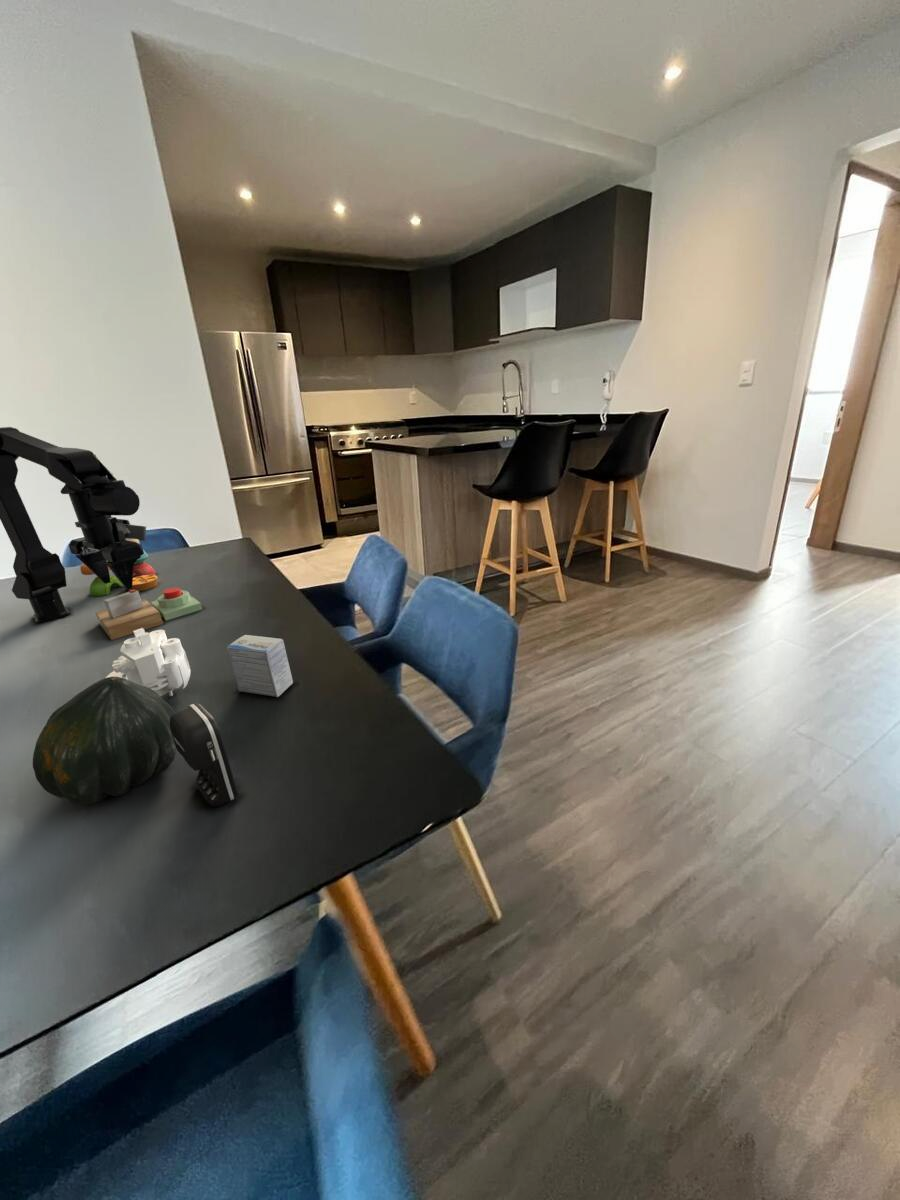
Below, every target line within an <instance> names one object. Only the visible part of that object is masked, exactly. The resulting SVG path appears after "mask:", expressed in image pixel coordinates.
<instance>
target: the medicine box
mask: <svg viewBox="0 0 900 1200" xmlns="http://www.w3.org/2000/svg"><path fill="white" fill-rule="evenodd" d="M226 649H227V653H228V657H229V660H230V664H231V667H232V671H233V675H234V678H235V683H236V686H237V690H238V692H241V693H242V692H243V693H249V694H256V695H263V696H269V697H274V698H279V697H280V696H281V695H283V693H284V692H285V691H286V690H287V689H288V688H290V687H291V686H292V685H293V684H294V680H293V676H292V672H291V668H290V664H289V659H288V655H287V651H286V646H285V642H284V640H283V638H277V637H276V638H275V637H268V636H259V635H249V634H244V635H242V636H240V637H239V638H237V639H236V640H234V641H233V642H231V643H230V644H229V645H227V647H226Z"/></svg>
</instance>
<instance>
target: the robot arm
mask: <svg viewBox="0 0 900 1200" xmlns="http://www.w3.org/2000/svg"><path fill="white" fill-rule="evenodd" d="M19 458H21V459H24V460H26V461H29V462H31V463H34V464H36V465H38V466H41V467H44V468H46V469H47V472H48V474H49V475H50V476H52V477H53V478H55V479H56V480H58V481H60V482H61V483H63V484H64V486H63V487H62V488H60V494H61V495H68V497H69V499H70V502H71V505H72V508H73V510H74V513H75V516H76V518H77V521H74V525H75V527H76V528H79V529H80V530H81V533H82V535H83V537H79V538H75V539H71V540H70V542H69V543H68V548H69V551H70V553H71V554H73V555H75V558H76V559H78V560H79V561H80V562H81V563H82V564H83V563H84V564H85V565H86V566H87V567H88V568H89V569H90V570H91V571H92V572H93V573H95V574H94V575H95V576H96V577H99V578H100V579H101V580H102V581H103V582H104V583H105V584H107V583H110V575H111V574H110V571H111V573H113V576H114V577H116V578H118V580H119V581H120V582H121V583H122V585H123V588H124V589H126V590H128V589H131V588H132V585H133V578H134V576H133V566H134V563H135V562H136V560H137V559H139V558H140V557H141V555H143V554H144V551H145V550H144V548H143V545H142V544H141V543H140V544H138V543H137V542H133V541H126V538H128V539H138V540H139V541H144V542H145V541H146V538H147V526H143V525H140V524H139V525H138V524H131V522H130V521H129V519H124V518H123V519H122V518H117V517H116V516H124V517H125V516H133V515H135V514H136V513H137V512H138V511H139V508H140V504H141V501H140V497H139V495H138V494H137V492H136V491H135V490H134V489H133V488H131V487H129V486H127V485H126V484H125V483H126V482H125V481H124V480H123V479H117V477H115V476H114V474H113V472H111V471H110V469H108V467H106V465H105V464H104V463H103V462H102V461H101V460H100V459H99V457H97V454H95V453H94V452H93V451H91V450H89V449H85V448H77V447H62V446H58V445H56V444H53V443H50V442H48V441H45V440H42V439H40V438H37V437H34V436H33V435H29V434H28V433H25V432H23V431H20V429H18V428H16V427H12V426H5V427H4V426H3V427H0V522H1V524H2V526H3V528H4V530H5V533H6V534H7V537H8V539H9V541H10V544H11V545H12V547H13V549H14V551H15V557H14V561H13V564H12V569H13V571H14V575H15V579H14V582H13V584H12V587H11V592H12V593H13V595H14V596H15V598H16V599H20V600H28V601H29V603H30V606H31V608H32V611H33V613H34V614H33V615H32V616H33V618H34V620H35V623H36V624H40V623H41V624H42V623H45V622H49V621H52V620H55V619H59V618H63V617H67V616H70V615H71V612H70V610H69V609H68V607H67V606H65V604H64V601H63V599H62V597H61V594H60V592H59V590H60V589H61V588H66V587H67V577H66V568H65V566H64V565H63V563H62V561H61V558H60V556H59V555H58V553H52V552H50V551H49V550H48V549H46V548H45V547H44V546H43V544H42V541H41V539H40V537H39V535H38V532H37V531H36V528H35V526H34V523H33V521H32V519H31V517H30V515H29V512H28V510H27V509H26V506H25V504H24V501H23V500H22V497H21V494H20V493H19V491H18V488H17V485H16V481H17V477H18V473H19V468H18V465H17V462H16V461H17V460H18V459H19ZM143 550H144V551H143ZM107 561H108V562H107ZM108 567H109V568H110V570H108Z"/></svg>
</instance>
